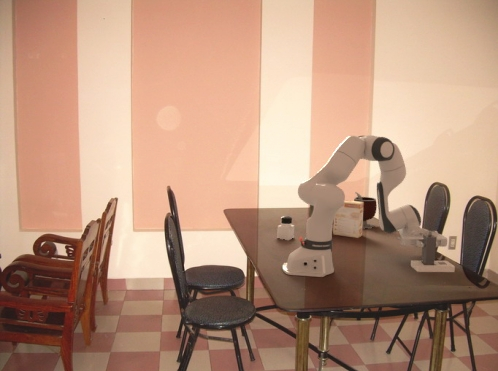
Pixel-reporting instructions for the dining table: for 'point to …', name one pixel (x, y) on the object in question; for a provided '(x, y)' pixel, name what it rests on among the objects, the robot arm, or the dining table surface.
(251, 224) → the dining table surface
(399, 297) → the dining table surface
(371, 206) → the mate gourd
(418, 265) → the beige holder tray
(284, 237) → the medicine bottle
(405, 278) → the dining table surface
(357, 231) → the coffeecake box
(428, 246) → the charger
